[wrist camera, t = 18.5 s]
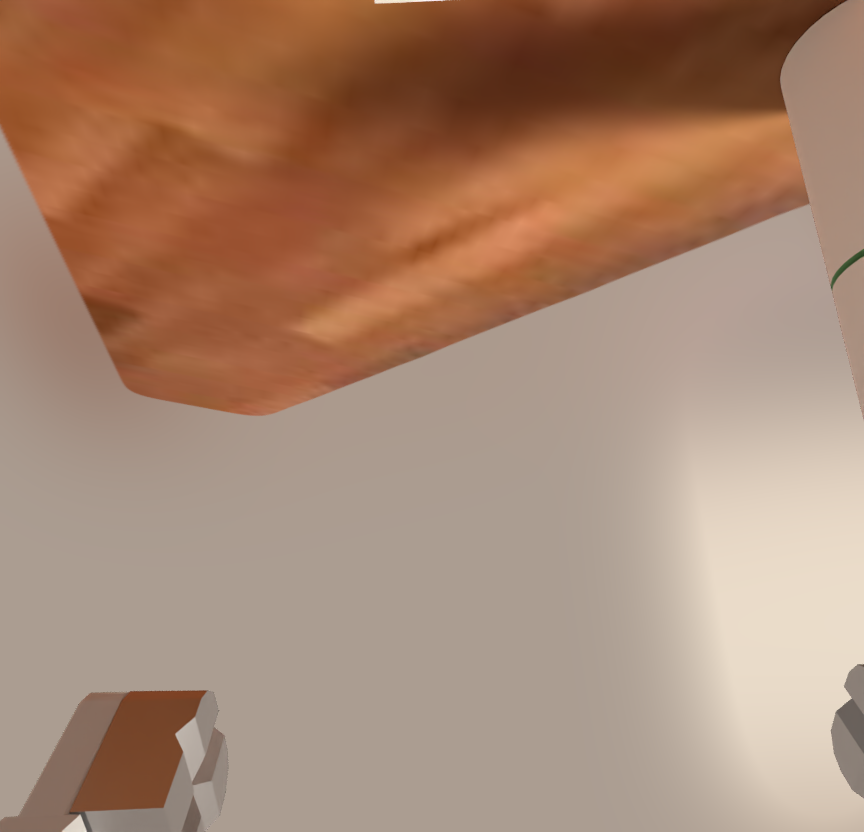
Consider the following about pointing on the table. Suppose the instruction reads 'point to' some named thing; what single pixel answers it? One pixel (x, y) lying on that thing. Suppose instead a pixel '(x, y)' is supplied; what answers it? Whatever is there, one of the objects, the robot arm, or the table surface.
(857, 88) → the cylindrical container
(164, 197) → the table surface
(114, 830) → the robot arm
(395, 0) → the block
